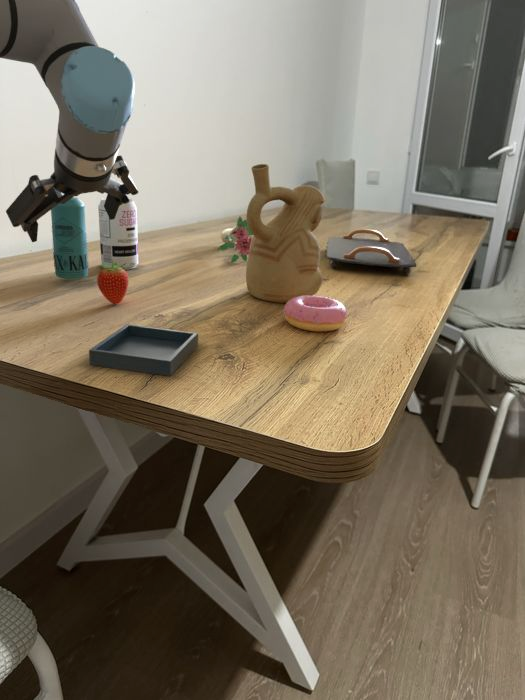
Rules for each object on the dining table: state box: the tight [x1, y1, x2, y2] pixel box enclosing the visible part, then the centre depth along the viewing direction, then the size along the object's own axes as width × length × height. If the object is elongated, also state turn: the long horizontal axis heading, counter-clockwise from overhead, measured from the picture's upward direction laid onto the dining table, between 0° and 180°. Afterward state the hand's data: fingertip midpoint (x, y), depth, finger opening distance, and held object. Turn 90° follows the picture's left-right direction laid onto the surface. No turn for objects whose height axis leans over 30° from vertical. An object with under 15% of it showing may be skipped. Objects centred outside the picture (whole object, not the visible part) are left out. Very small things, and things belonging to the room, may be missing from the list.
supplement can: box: [97, 197, 139, 271], centre depth 117 cm, size 8×8×15 cm
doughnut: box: [283, 295, 348, 332], centre depth 88 cm, size 11×11×4 cm
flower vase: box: [217, 216, 254, 264], centre depth 136 cm, size 12×12×35 cm
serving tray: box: [325, 228, 417, 276], centre depth 144 cm, size 39×23×6 cm, turn 172°
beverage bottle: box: [50, 196, 90, 280], centre depth 101 cm, size 6×7×20 cm
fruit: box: [96, 260, 130, 305], centre depth 92 cm, size 5×5×8 cm
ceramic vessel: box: [245, 163, 326, 304], centre depth 101 cm, size 17×20×25 cm
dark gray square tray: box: [88, 323, 199, 377], centre depth 72 cm, size 11×11×2 cm
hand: (71, 223), depth 87 cm, fingers open, 13 cm apart
